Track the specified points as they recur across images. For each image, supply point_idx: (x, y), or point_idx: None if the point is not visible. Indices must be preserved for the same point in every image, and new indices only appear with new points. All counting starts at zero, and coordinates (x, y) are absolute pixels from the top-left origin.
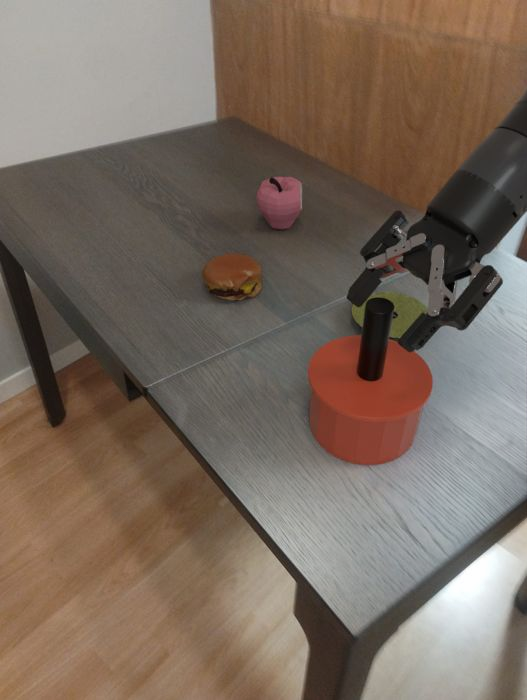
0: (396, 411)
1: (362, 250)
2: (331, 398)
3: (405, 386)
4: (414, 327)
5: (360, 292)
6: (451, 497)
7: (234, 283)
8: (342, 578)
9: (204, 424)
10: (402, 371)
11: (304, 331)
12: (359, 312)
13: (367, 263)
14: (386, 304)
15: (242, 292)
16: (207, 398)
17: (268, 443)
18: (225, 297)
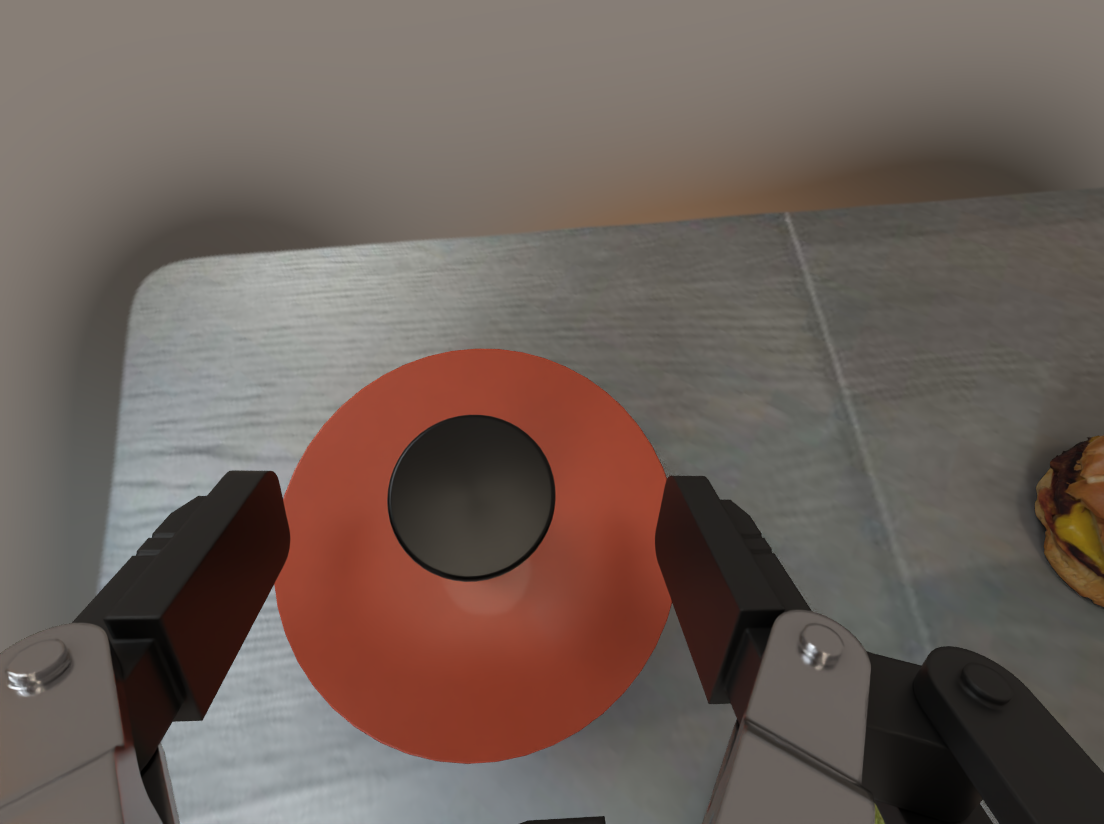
0: (302, 497)
1: (992, 668)
2: (452, 367)
3: (370, 598)
4: (187, 534)
5: (684, 535)
6: None
7: (1099, 487)
8: (216, 296)
9: (644, 258)
10: (432, 639)
11: (856, 608)
12: (876, 816)
13: (838, 629)
14: (458, 532)
15: (1060, 511)
16: (709, 291)
17: (541, 335)
18: (1052, 472)
